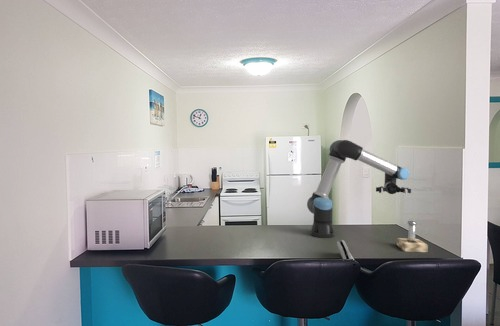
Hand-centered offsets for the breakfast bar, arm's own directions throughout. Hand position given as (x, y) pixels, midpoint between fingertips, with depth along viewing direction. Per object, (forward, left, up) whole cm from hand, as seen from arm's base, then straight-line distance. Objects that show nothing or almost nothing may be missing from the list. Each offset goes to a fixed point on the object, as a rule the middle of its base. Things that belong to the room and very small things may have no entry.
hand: (394, 191), depth 196 cm
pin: (+5, -15, -30) cm, 34 cm away
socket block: (+5, -15, -30) cm, 34 cm away
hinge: (-36, -36, -30) cm, 59 cm away
